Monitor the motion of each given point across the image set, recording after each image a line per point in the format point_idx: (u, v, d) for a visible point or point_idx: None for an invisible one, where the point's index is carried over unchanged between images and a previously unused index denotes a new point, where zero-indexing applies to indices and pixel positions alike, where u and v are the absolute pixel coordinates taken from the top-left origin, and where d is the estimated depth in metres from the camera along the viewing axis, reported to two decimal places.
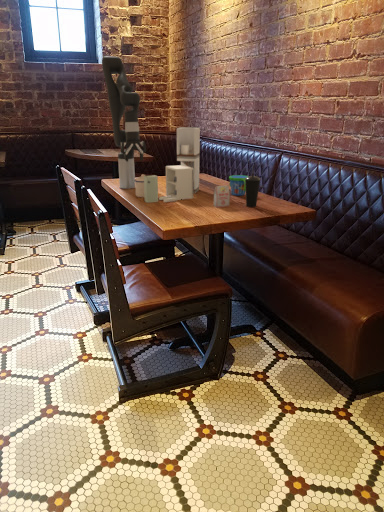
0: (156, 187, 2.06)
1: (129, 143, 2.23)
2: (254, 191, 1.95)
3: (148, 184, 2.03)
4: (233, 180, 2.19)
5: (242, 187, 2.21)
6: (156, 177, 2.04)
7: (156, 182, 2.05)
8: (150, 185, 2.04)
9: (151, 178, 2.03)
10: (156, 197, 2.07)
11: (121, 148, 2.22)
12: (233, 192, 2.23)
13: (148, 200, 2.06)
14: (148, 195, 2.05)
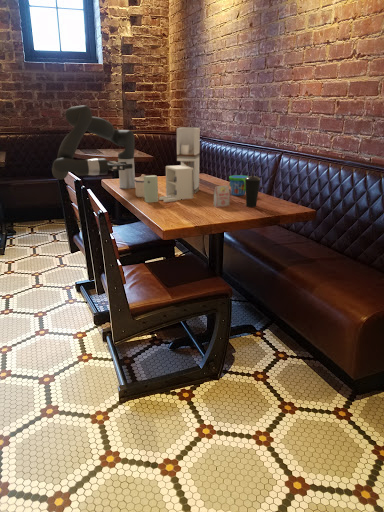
0: (156, 187, 2.06)
1: None
2: (254, 191, 1.95)
3: (148, 184, 2.03)
4: (233, 180, 2.19)
5: (242, 187, 2.21)
6: (156, 177, 2.04)
7: (156, 182, 2.05)
8: (150, 185, 2.04)
9: (151, 178, 2.03)
10: (156, 197, 2.07)
11: None
12: (233, 192, 2.23)
13: (148, 200, 2.06)
14: (148, 195, 2.05)
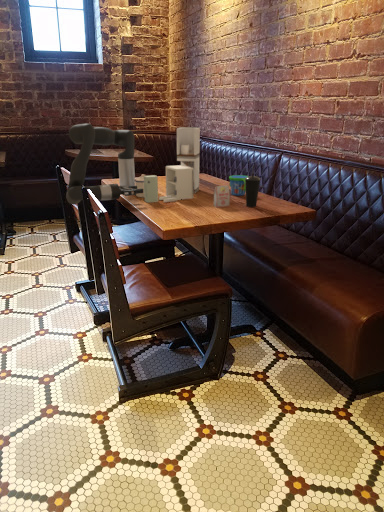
0: (156, 187, 2.06)
1: None
2: (254, 191, 1.95)
3: (148, 184, 2.03)
4: (233, 180, 2.19)
5: (242, 187, 2.21)
6: (156, 177, 2.04)
7: (156, 182, 2.05)
8: (150, 185, 2.04)
9: (151, 178, 2.03)
10: (156, 197, 2.07)
11: None
12: (233, 192, 2.23)
13: (148, 200, 2.06)
14: (148, 195, 2.05)
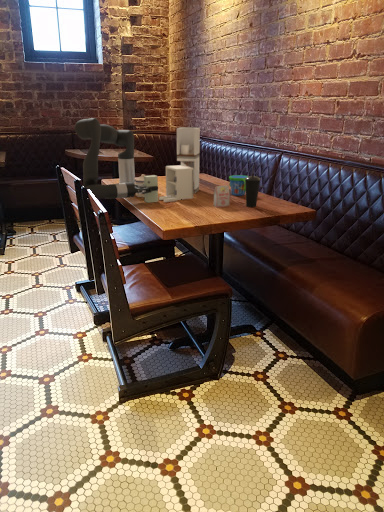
0: None
1: None
2: (254, 191, 1.95)
3: (148, 184, 2.03)
4: (233, 180, 2.19)
5: (242, 187, 2.21)
6: (156, 177, 2.04)
7: (156, 182, 2.05)
8: (150, 185, 2.04)
9: (151, 178, 2.03)
10: (156, 197, 2.07)
11: None
12: (233, 192, 2.23)
13: (148, 200, 2.06)
14: (148, 195, 2.05)
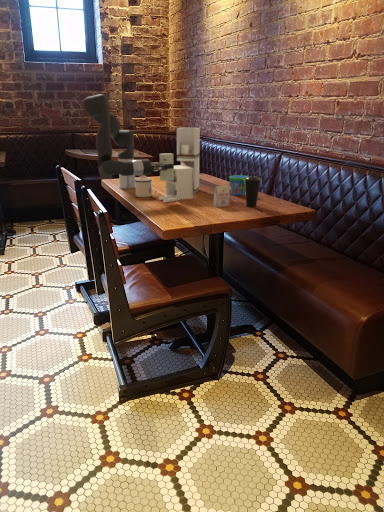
0: None
1: None
2: (254, 191, 1.95)
3: (164, 162, 2.02)
4: (233, 180, 2.19)
5: (242, 187, 2.21)
6: (172, 155, 2.03)
7: (172, 160, 2.03)
8: (165, 163, 2.02)
9: (167, 156, 2.02)
10: (171, 175, 2.06)
11: None
12: (233, 192, 2.23)
13: (164, 178, 2.05)
14: (163, 173, 2.04)
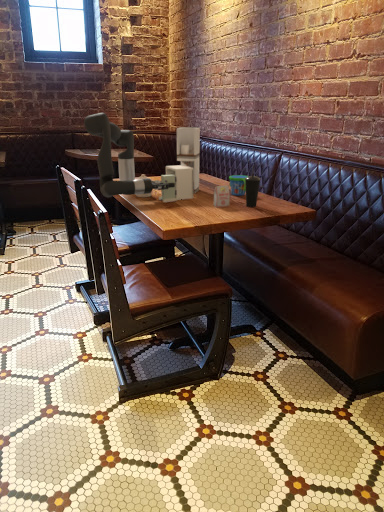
0: None
1: None
2: (254, 191, 1.95)
3: None
4: (233, 180, 2.19)
5: (242, 187, 2.21)
6: (173, 176, 2.07)
7: (173, 181, 2.08)
8: None
9: (168, 177, 2.06)
10: (173, 196, 2.10)
11: None
12: (233, 192, 2.23)
13: None
14: (165, 194, 2.08)
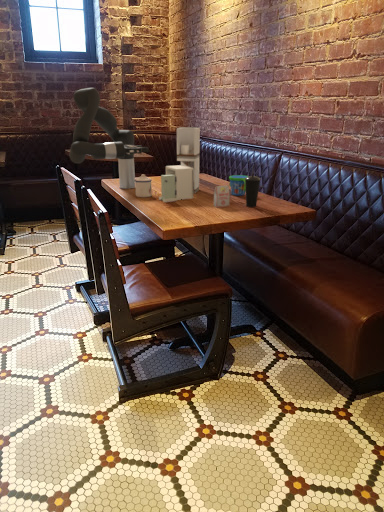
0: (173, 186, 2.09)
1: None
2: (254, 191, 1.95)
3: (165, 183, 2.06)
4: (233, 180, 2.19)
5: (242, 187, 2.21)
6: (173, 176, 2.07)
7: (173, 181, 2.08)
8: (167, 184, 2.07)
9: (168, 177, 2.06)
10: (173, 196, 2.10)
11: None
12: (233, 192, 2.23)
13: None
14: (165, 194, 2.08)
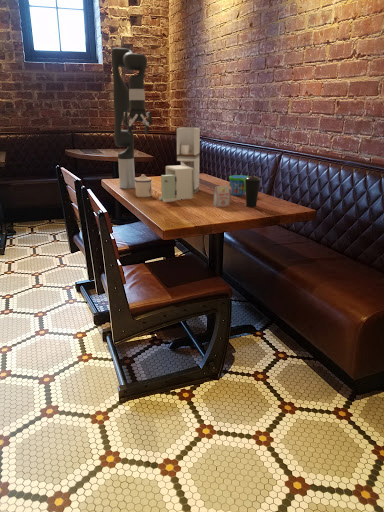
0: (173, 186, 2.09)
1: (133, 113, 1.96)
2: (254, 191, 1.95)
3: (165, 183, 2.06)
4: (233, 180, 2.19)
5: (242, 187, 2.21)
6: (173, 176, 2.07)
7: (173, 181, 2.08)
8: (167, 184, 2.07)
9: (168, 177, 2.06)
10: (173, 196, 2.10)
11: (124, 119, 1.96)
12: (233, 192, 2.23)
13: None
14: (165, 194, 2.08)
